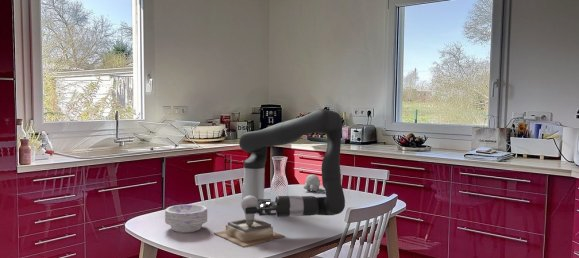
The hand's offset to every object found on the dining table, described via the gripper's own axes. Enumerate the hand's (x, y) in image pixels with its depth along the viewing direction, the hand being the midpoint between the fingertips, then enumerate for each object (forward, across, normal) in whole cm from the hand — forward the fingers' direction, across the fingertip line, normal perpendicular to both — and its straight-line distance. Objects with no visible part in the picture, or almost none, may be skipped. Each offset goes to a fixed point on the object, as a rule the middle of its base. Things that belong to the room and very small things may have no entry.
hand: (244, 207), depth 168 cm
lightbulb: (-2, 0, +7) cm, 7 cm away
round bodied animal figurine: (-43, -71, +10) cm, 84 cm away
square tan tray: (-2, 0, +10) cm, 10 cm away
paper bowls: (+20, -10, +10) cm, 25 cm away
